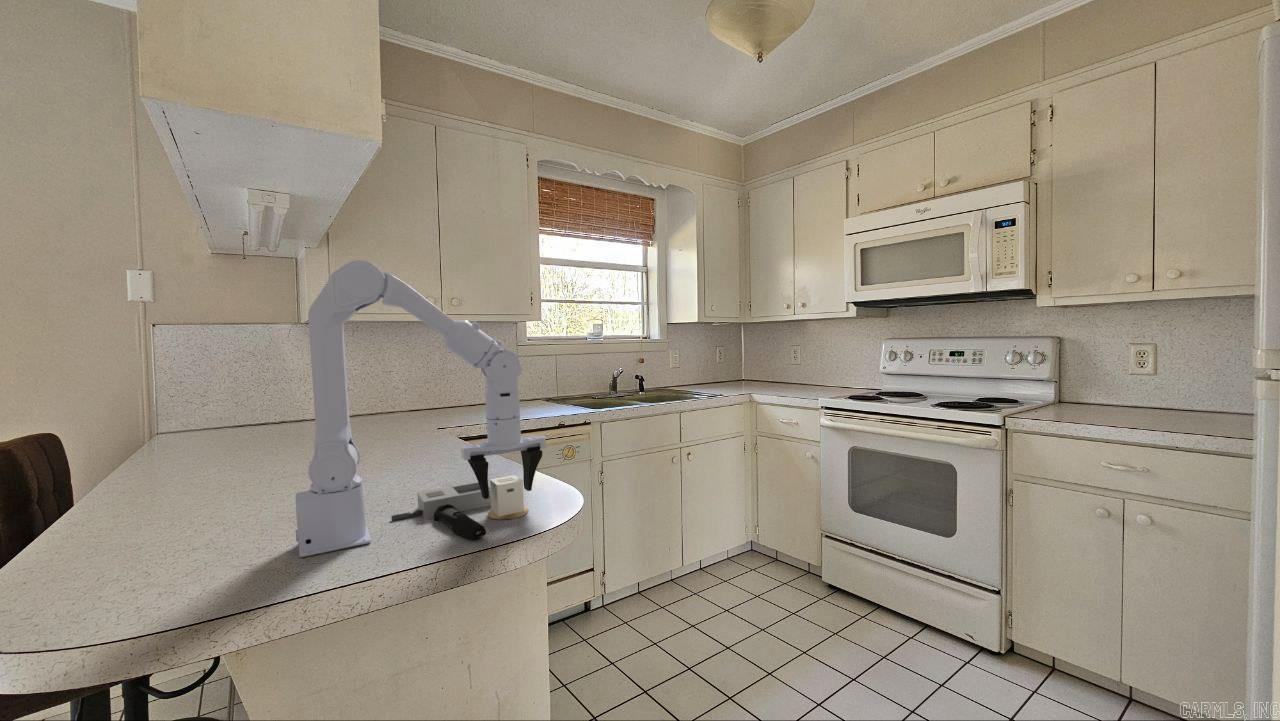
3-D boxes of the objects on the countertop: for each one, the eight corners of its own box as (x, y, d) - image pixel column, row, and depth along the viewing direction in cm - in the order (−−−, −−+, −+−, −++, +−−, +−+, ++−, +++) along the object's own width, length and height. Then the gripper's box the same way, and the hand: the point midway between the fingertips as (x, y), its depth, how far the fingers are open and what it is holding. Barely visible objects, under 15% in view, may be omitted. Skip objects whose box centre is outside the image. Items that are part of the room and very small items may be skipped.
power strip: (393, 525, 92) (392, 503, 92) (388, 513, 98) (387, 493, 98) (514, 501, 103) (513, 481, 103) (503, 492, 109) (502, 473, 109)
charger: (498, 516, 93) (497, 484, 93) (491, 509, 97) (489, 478, 97) (524, 511, 96) (522, 480, 95) (516, 504, 100) (514, 474, 99)
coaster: (494, 522, 92) (494, 520, 92) (483, 511, 98) (483, 509, 98) (534, 514, 95) (533, 512, 95) (521, 503, 101) (520, 501, 101)
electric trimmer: (469, 548, 82) (468, 528, 82) (431, 522, 94) (430, 504, 94) (492, 542, 85) (491, 522, 85) (453, 516, 96) (452, 499, 96)
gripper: (534, 410, 103) (538, 481, 103) (455, 419, 95) (459, 495, 96) (548, 414, 96) (551, 490, 97) (465, 424, 89) (469, 505, 90)
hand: (507, 493), depth 96 cm, fingers open, 7 cm apart
